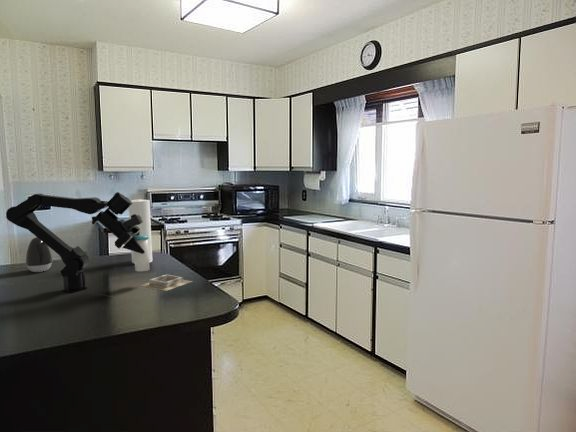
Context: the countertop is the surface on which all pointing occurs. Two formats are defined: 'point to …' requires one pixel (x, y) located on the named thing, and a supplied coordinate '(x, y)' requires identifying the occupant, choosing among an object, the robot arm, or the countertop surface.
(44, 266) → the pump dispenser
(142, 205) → the cylinder container
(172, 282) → the housing
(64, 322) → the countertop surface
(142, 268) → the white tall cylindrical piece
